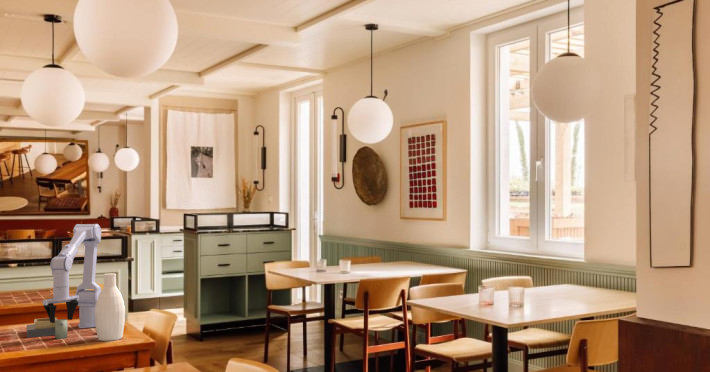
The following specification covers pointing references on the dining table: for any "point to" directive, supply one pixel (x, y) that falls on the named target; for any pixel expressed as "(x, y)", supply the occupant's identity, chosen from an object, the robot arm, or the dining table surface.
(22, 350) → the dining table surface
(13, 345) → the dining table surface
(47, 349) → the dining table surface
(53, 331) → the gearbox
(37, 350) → the dining table surface
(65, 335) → the spout can
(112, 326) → the bottle
